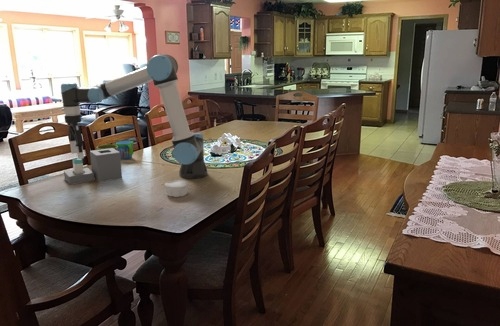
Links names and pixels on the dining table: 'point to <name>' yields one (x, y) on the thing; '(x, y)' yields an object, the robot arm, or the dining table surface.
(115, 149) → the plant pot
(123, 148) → the snack cup
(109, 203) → the dining table surface
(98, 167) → the block
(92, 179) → the plate
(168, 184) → the ramekin
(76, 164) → the plug
